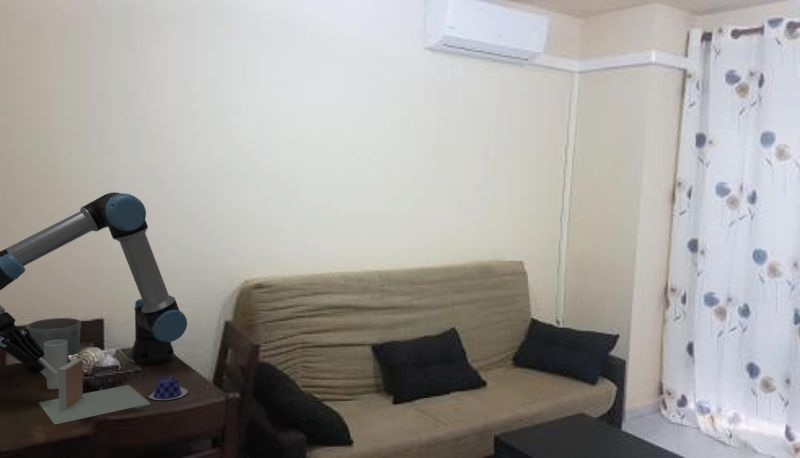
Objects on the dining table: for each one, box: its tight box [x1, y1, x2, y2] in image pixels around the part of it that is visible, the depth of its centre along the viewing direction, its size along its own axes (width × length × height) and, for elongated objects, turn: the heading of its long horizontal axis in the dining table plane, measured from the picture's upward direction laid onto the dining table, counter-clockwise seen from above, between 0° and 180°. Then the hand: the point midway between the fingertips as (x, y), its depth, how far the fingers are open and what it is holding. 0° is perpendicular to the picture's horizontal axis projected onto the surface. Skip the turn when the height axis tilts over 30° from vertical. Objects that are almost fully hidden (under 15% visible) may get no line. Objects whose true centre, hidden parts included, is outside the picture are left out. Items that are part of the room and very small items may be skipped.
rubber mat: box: [38, 384, 152, 425], centre depth 188 cm, size 26×20×1 cm
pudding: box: [147, 376, 188, 401], centre depth 198 cm, size 12×12×5 cm
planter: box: [25, 317, 82, 364], centre depth 222 cm, size 17×17×15 cm
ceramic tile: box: [58, 358, 84, 410], centre depth 187 cm, size 2×10×12 cm, turn 1°
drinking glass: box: [44, 340, 68, 390], centre depth 200 cm, size 7×7×15 cm
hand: (53, 376), depth 187 cm, fingers closed
